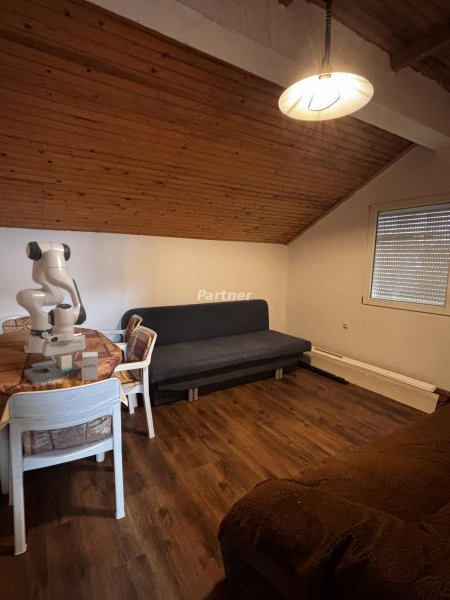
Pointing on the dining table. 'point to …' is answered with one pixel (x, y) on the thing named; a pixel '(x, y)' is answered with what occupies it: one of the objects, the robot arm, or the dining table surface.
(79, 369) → the rack plate
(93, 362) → the supplement box
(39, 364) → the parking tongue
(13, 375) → the dining table surface
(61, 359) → the peg
